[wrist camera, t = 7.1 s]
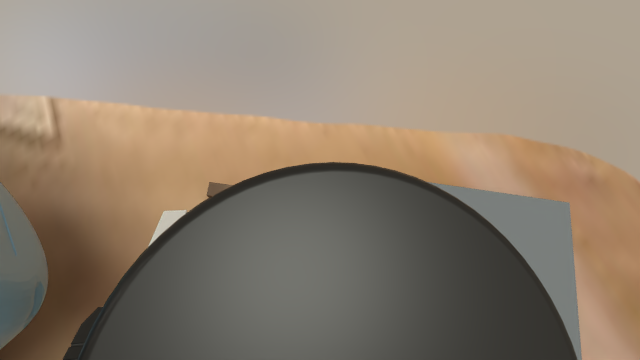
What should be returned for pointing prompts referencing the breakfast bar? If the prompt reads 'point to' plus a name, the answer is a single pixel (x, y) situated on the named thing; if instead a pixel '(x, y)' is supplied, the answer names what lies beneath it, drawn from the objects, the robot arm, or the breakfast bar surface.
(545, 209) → the mat
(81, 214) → the breakfast bar surface
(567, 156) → the breakfast bar surface
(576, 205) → the breakfast bar surface
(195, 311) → the jar
